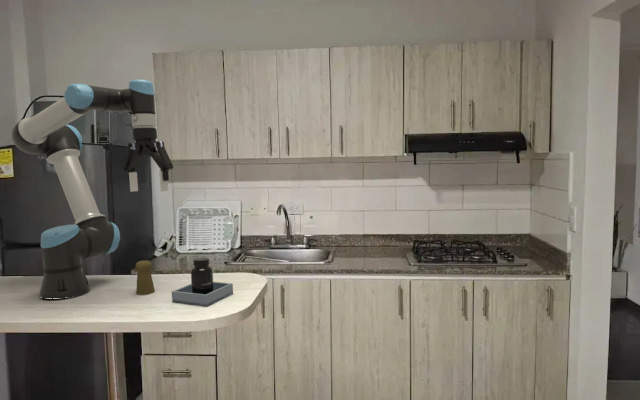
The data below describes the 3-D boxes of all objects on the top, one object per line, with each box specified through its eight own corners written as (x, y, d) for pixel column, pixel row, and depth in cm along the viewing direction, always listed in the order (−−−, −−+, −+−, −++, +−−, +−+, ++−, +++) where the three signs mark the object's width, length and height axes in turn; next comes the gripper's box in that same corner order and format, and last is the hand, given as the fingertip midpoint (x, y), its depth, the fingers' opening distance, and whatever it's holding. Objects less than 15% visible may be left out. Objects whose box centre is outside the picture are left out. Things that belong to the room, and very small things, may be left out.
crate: (172, 302, 142) (171, 291, 142) (200, 290, 154) (199, 280, 154) (206, 306, 136) (206, 295, 136) (233, 293, 149) (232, 283, 148)
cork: (158, 291, 154) (155, 260, 153) (141, 296, 150) (138, 263, 149) (149, 288, 158) (147, 258, 157) (133, 293, 154) (130, 261, 153)
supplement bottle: (208, 299, 141) (205, 261, 140) (188, 298, 142) (185, 261, 141) (217, 292, 148) (215, 256, 147) (198, 292, 149) (196, 256, 148)
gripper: (108, 129, 151) (113, 192, 153) (165, 124, 141) (169, 191, 143) (126, 130, 158) (130, 190, 160) (181, 125, 148) (185, 190, 150)
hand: (149, 191), depth 152 cm, fingers open, 13 cm apart
